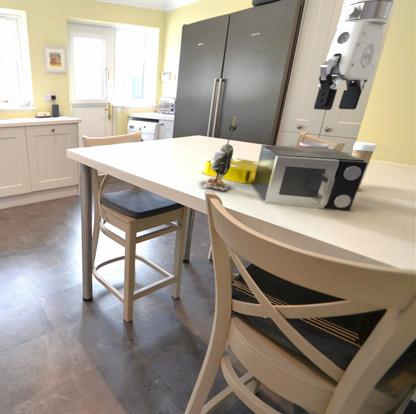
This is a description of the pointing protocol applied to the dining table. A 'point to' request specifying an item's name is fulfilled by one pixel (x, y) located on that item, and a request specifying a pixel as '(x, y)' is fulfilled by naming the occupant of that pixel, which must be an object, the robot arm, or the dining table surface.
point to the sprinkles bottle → (363, 153)
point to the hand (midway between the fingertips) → (334, 109)
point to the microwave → (347, 169)
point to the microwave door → (301, 181)
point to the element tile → (236, 170)
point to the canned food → (313, 145)
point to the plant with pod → (222, 161)
